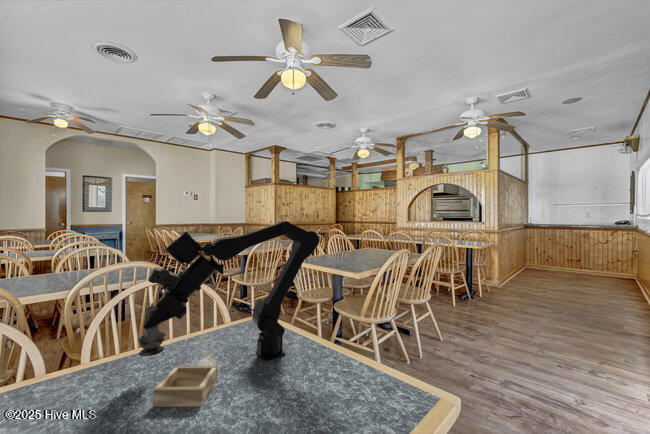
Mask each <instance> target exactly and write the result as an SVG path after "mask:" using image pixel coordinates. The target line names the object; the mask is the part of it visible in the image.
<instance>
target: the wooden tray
mask: <svg viewBox="0 0 650 434" xmlns="http://www.w3.org/2000/svg"><path fill="white" fill-rule="evenodd" d="M217 382H218V365H175V366H174V368H173V369H171V371H170V372H169V373H168V374H167V375H166V376H165V377H164V378H163V379H162V380H161V381H160V382H159V383H158V385H156V387H154V389H153V390H152V391H153V393H152V407H153V408H154V407H155V408H156V407H157V408H158V407H159V408H161V407H163V408H166V407H168V408H169V407H171V408H173V407H176V408H178V407H179V408H180V407H202V406H203V404H204V403H205V401H206V400H207V398H208V396H209V394H210V393H211V391H212V390H213V388H214V386H215V385H216V383H217Z"/></svg>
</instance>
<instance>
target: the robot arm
mask: <svg viewBox="0 0 650 434" xmlns="http://www.w3.org/2000/svg"><path fill="white" fill-rule="evenodd" d="M282 236H284V237H286V238H288V239H289V240H291V241H292V243H291V249H290V254H289V257H288V258H287V260H286V262H285V264H284V266H283V268H281V269H282V270H281V271H280V274H279V275H278V277H277V279H276V280H275V282H274V284H273V286H272V288H271V290H270V291H269V293H268V295H267V296H266V297H265V298H264V299H261V298H258V300H257V302H256V305H255V306H254V307H253V308H252V309H251V311H252V313H251V314H252V315H251V319H252V322H253V323H254V325H255V326H256V327H257V329H258V330H259V331H260V332H259V333H258V339H257V340H256V351H255V353H256V354H257V355H258V356H260V358H262V360H264V361H269V360H273V359H275V358H279V357H282V356H285V355H286V352H285V351H284V350H283V339H284V338H283V337H284V334H285V330H286V329H285V328H284V326H282V325H281V324H280V323H279V319H280V316H281V312H282V311H281V309H282V304H283V301H284V299H285V297H286V296H287V293H288V292H289V290H290V288H291V286H292V285H293V283H294V281H295V279H296V277H297V274H298V273H299V271H300V269H301V267H302V266H303V263H304V261H306V259H307V258H309V257H310V256H311V255H312V254H313V253H314V251H315V250H316V249H317V247H318V246H319V243H320V238H319V235H318V233H316V231H312V230H306V229H304V228H301V227H300V226H298V225H297V226H296V225H295V224H293V223H292V222H290V221H287V220H281V221H278V222H276V223H273V224H270V225H268V226H265V227H261V228H258V229H256V230H253V231H249V232H247V233H244V234H240V235H232V236H225V237H219V238H216V239H214V240H213V241H212V242H211V243H203V244H200V243H198V242H197V241H196V240H195V239H194V238H193V237H192V236H191V235H190V233H188V232H187V231H184V232H183V233H182V234H180V235H179V236H178V237H177V238H176V239H173V241H171V243H169V244H168V246H166V248H164V252H166V253H167V254H168V255H169V256H171V257H172V258H173V259H174V260H175V261H176V262H177V263H178V264H180V265H184V264H186V265H189V264H190V265H189V266H188V267H187V268H186V269H185V270H182V271H179V273H174V272H173V271H170V270H169V269H168V270H167V269H166V268H161V267H158V266H155V267H154V268H153V270H152V272H151V274H150V275H149V278H148V282H149V283H152V284H157V285H161V286H160V290H159V291H158V298H157V302H156V304H155V305H154V306H156V307H157V309H156V310H155V311H154V313H153V314H152V315H151V317H150V318H149V319H148V321H147V322H146V323H145V324H144V325H143V328H144V330H145V329H149V328H151V327H153V326H155V325H157V324H159V325H160V324H162V323H164V322H167V321H168V320H171V319H172V318H177V319H179V320H181V319H182V318H183V317H184V316H185V315H186V314H187V312H188V311H187V309H188V307H187V303H188V302H189V299H190V297H192V295H194V293H196V291H200V290H201V289H202V287H201V286H202V285H203V284H204V283H205V282H206V281H208V279H209V278H211V276H212V275H214V273H215V272H218V273H219V274H220V275H221V276H222V275H224V273H225V272H224V267H225V265H224V263H218V262H217V261H216V260H218V261H222V262H225V261H228V260H230V259H232V258H234V257H236V256H238V255H240V254H241V253H242V252H243V251H245V250H247V249H249V248H250V247H254V246H257V245H259V244H261V243H264V242H268V241H270V240H272V239H276V238H278V237H282ZM201 252H203V253H204V254H205V255H206V256H210V257H208V258H206V256H204V255H203V254H202V253H201ZM212 256H213V257H214V258H216V260H215V259H214V258H213V257H212ZM195 259H196V260H195ZM162 290H163V291H162Z"/></svg>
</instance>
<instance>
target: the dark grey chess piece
mask: <svg viewBox="0 0 650 434" xmlns="http://www.w3.org/2000/svg"><path fill="white" fill-rule="evenodd" d="M156 309H157V307H156V306H155V305H154V302H151V303H150V306H148V307H146V308H145V311H144V312H145V315H144V319H145V320H144V321H143V324H144V325H145V323H146V322H147V321H148V319H149V318H150V317H151V315H152V314H153V313H154V311H155V310H156ZM165 337H166V333H165V332H161V330H160V324H157V325H155V326H153V327H151V328H149V329H145V328H144V333H143V334H142V335H141V336H139V337H138V338H137V342H138V343H139V346H140V348H142V349H141V350H140V351H139V353H138V355H139V356H140V357H153V356H156V355H159V354H160V353H162V352H163V351H164V350H165V348H164V347H163V346H162V344H163V342H164V340H165Z"/></svg>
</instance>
